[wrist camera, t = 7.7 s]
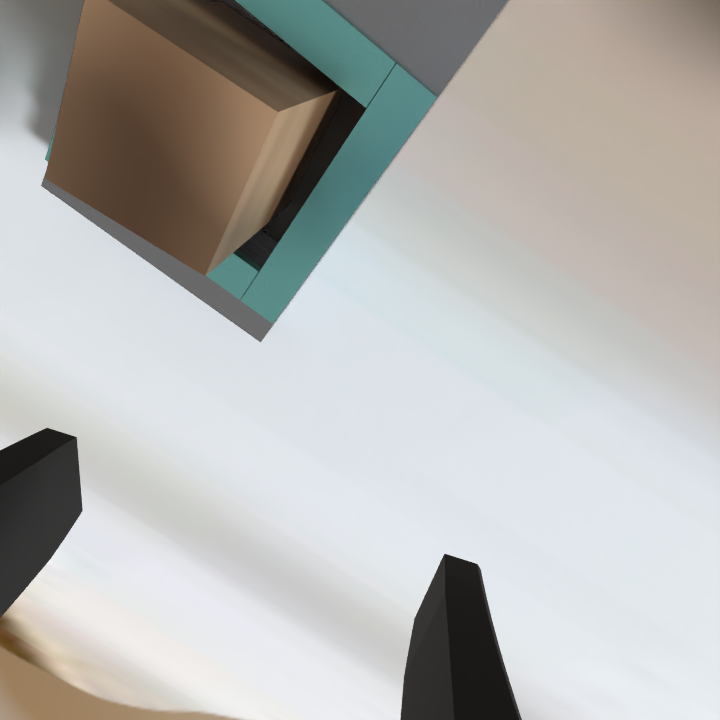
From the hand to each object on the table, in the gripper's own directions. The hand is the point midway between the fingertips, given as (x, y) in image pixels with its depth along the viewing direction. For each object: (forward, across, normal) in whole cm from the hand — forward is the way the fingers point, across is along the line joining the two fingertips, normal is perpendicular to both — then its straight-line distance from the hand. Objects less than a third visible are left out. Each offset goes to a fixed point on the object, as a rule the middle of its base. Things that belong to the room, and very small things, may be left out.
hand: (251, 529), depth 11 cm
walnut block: (+10, +4, -5) cm, 12 cm away
